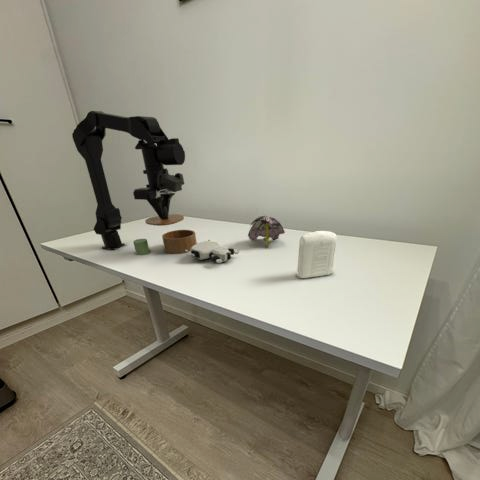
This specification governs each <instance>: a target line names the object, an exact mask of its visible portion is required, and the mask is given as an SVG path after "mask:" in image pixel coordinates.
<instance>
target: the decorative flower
mask: <svg viewBox="0 0 480 480" xmlns="http://www.w3.org/2000/svg"><path fill="white" fill-rule="evenodd" d="M249 227H250V229H249V230H248V233H247V237H248V239H249V240H250V241H251V242H253V241H255V240H257V239H258V238H259V237H262V238H263V241H265V242H266V244H265V248H269V246H270V245H271V244H272V241H271V240H273V241H277V239H280V235H284V234H286V231H285V228H284V227H283V225H282V223H281V222H280V221H279V220H278V219H276V218H275V217H271V216H268V215H262V216H258V217H257V218H255V219H253V221H252V222H251V224H250V225H249ZM270 238H271V240H270Z"/></svg>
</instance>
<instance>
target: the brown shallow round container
mask: <svg viewBox="0 0 480 480" xmlns="http://www.w3.org/2000/svg"><path fill="white" fill-rule="evenodd" d="M161 238H162V243H163V248H164V251H165V252H166V253H168V254H173V255H176V254H177V255H178V254H185V253H187V252H186V251H185V250H187V251H189V252H190V253H191V251H190V249H191V247H192V246H194V245H195V244H197V243H198V242H197V235H196V232H195V231H194V230H191V229H175V230H170V231H167V232H165V233H163V234H162V235H161Z"/></svg>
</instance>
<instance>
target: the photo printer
mask: <svg viewBox="0 0 480 480" xmlns="http://www.w3.org/2000/svg"><path fill="white" fill-rule="evenodd" d="M337 240H338V238H337V234H336V233H334V232H333V231H329V230H317V231H311V232H309V233H306V234H303V235H302V236H300V237H299V244H298V245H299V246H298V256H297V257H298V258H297V268H296V273H297V277H298V278H299V279H308V278H314V277H321V276H328V275H332V273H333V269H334V263H335V255H336V248H337V243H338V241H337Z"/></svg>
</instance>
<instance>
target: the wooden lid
mask: <svg viewBox="0 0 480 480" xmlns="http://www.w3.org/2000/svg"><path fill="white" fill-rule="evenodd" d="M162 210H163V218H160V217H159V216H158V215H154V216H151V217H148V218H146V219H145V220H144V223H145V224H146V225H148V226H149V225H150V226H158V227H159V226H161V227H162V226H170V225H175V224H177V223H180V222H182V221H183V220H185V217H184V215H182V214H175V213H172V214H171V213H169V214H168V213H167V208H166V206H162Z"/></svg>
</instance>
